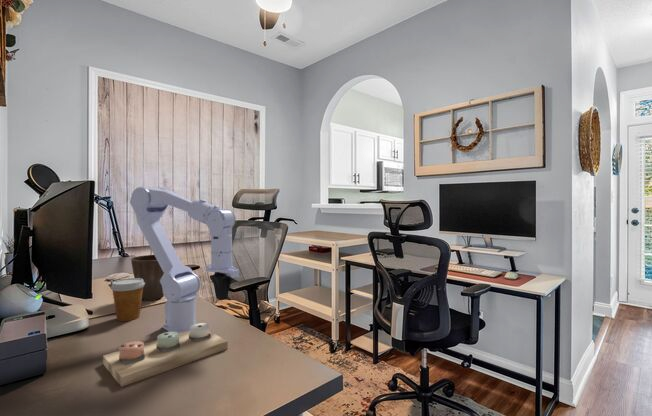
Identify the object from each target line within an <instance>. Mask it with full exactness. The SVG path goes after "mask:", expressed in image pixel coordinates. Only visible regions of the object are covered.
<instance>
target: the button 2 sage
mask: <svg viewBox="0 0 652 416" xmlns="http://www.w3.org/2000/svg"><path fill="white" fill-rule="evenodd" d="M156 338H157V339H156V340H157V346H158V347H160V348H168V347H172V346H175V345H177V344H178V343H179V333H178V332H168V331H167V332H166V331H165V332H163V333H160V334H158V335H157V337H156Z"/></svg>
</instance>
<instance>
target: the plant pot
mask: <svg viewBox="0 0 652 416" xmlns="http://www.w3.org/2000/svg"><path fill="white" fill-rule="evenodd" d="M130 261H131V267H132V268H131V269H132V272H133V273H132V274H133V276H134V277H133V278H141V279H143V281H144V283H145V285H144V287H143V293H142V301H155V300H156V299H157V300H160V299H159V298H161V299H162V297H163V298H164V294H163V289H162V285H161V283H160V280H161V278H162V276H163V274H164V272H163V270H162V268H161V267H160V265H159V263H158V261H157V259H156V257H155V255H154V254H147V255H139V256H133V257H131V259H130ZM157 300H156V301H157Z"/></svg>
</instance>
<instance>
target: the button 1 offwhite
mask: <svg viewBox="0 0 652 416" xmlns="http://www.w3.org/2000/svg"><path fill="white" fill-rule="evenodd" d="M209 331H210V324H209V323H205V322H201V323H199V322H198V323H196V324H194V325H192V326H191V327H190V337H193V338H200V337H204V336H207V335H208V334H209Z"/></svg>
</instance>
